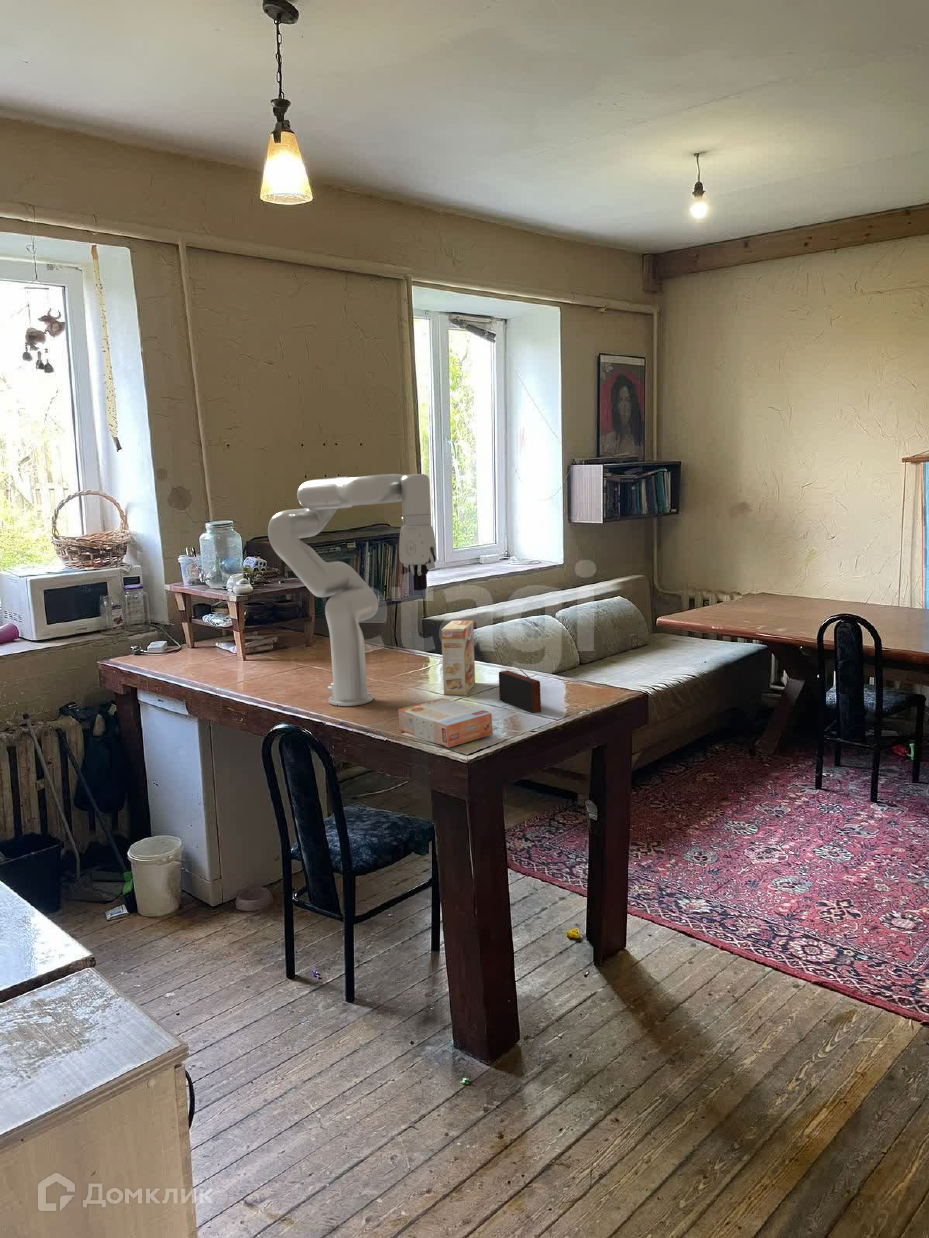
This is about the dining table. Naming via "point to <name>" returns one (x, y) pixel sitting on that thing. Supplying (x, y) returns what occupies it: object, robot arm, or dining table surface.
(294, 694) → the dining table surface
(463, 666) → the coffeecake box
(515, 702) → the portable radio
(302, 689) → the dining table surface
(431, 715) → the cracker box
